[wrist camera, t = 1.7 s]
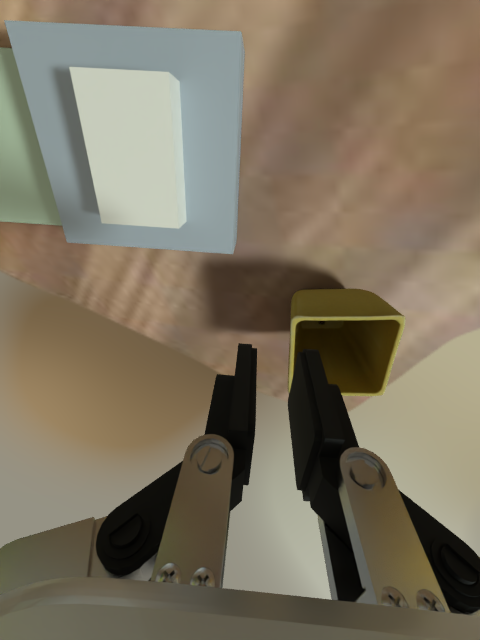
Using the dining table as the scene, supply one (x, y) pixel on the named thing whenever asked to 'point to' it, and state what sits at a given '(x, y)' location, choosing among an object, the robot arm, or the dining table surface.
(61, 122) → the plate
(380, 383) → the flower pot
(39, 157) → the mat
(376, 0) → the dining table surface
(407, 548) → the robot arm
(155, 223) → the white rectangular block
